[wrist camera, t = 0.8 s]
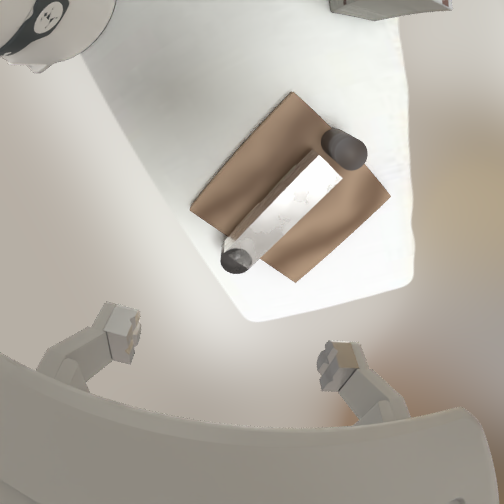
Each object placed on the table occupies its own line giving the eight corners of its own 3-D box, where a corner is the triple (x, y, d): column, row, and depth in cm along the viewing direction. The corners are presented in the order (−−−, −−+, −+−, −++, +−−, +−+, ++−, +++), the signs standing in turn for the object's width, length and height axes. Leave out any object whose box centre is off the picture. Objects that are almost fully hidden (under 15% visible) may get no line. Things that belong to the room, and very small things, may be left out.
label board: (191, 205, 37) (181, 233, 31) (295, 87, 29) (311, 88, 23) (294, 276, 45) (302, 309, 39) (390, 188, 37) (415, 211, 31)
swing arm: (312, 148, 31) (319, 155, 28) (334, 170, 32) (342, 178, 30) (215, 250, 38) (214, 263, 36) (238, 264, 40) (238, 278, 37)
